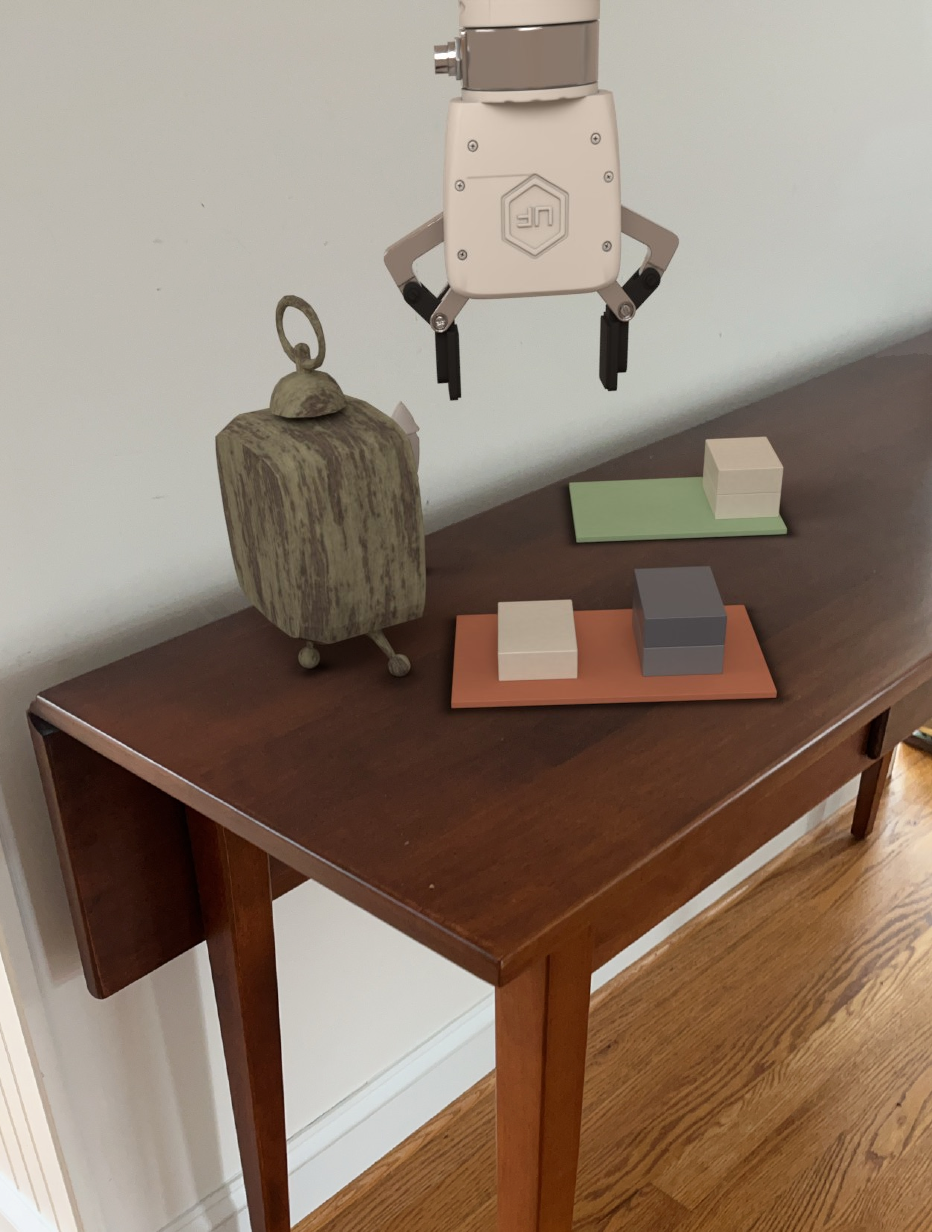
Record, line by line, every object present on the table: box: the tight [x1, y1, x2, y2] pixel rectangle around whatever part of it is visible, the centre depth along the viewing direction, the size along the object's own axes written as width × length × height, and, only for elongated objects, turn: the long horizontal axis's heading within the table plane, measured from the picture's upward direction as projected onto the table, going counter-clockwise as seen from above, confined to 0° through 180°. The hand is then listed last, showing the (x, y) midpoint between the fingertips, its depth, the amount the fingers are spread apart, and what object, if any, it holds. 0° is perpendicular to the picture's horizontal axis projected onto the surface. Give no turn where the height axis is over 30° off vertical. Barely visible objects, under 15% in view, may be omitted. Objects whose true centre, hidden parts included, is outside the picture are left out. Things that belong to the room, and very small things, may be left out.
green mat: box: [568, 476, 788, 543], centre depth 113 cm, size 18×14×1 cm
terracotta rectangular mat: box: [450, 604, 778, 709], centre depth 90 cm, size 22×14×1 cm, turn 88°
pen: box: [390, 400, 421, 482], centre depth 101 cm, size 2×3×14 cm
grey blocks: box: [632, 565, 727, 677], centre depth 89 cm, size 6×8×4 cm, turn 178°
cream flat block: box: [497, 599, 578, 681], centre depth 90 cm, size 6×8×2 cm, turn 178°
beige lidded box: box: [702, 436, 784, 520], centre depth 111 cm, size 6×8×4 cm, turn 178°
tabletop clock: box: [214, 294, 427, 678], centre depth 85 cm, size 14×9×25 cm, turn 30°
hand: (531, 389), depth 78 cm, fingers open, 9 cm apart
